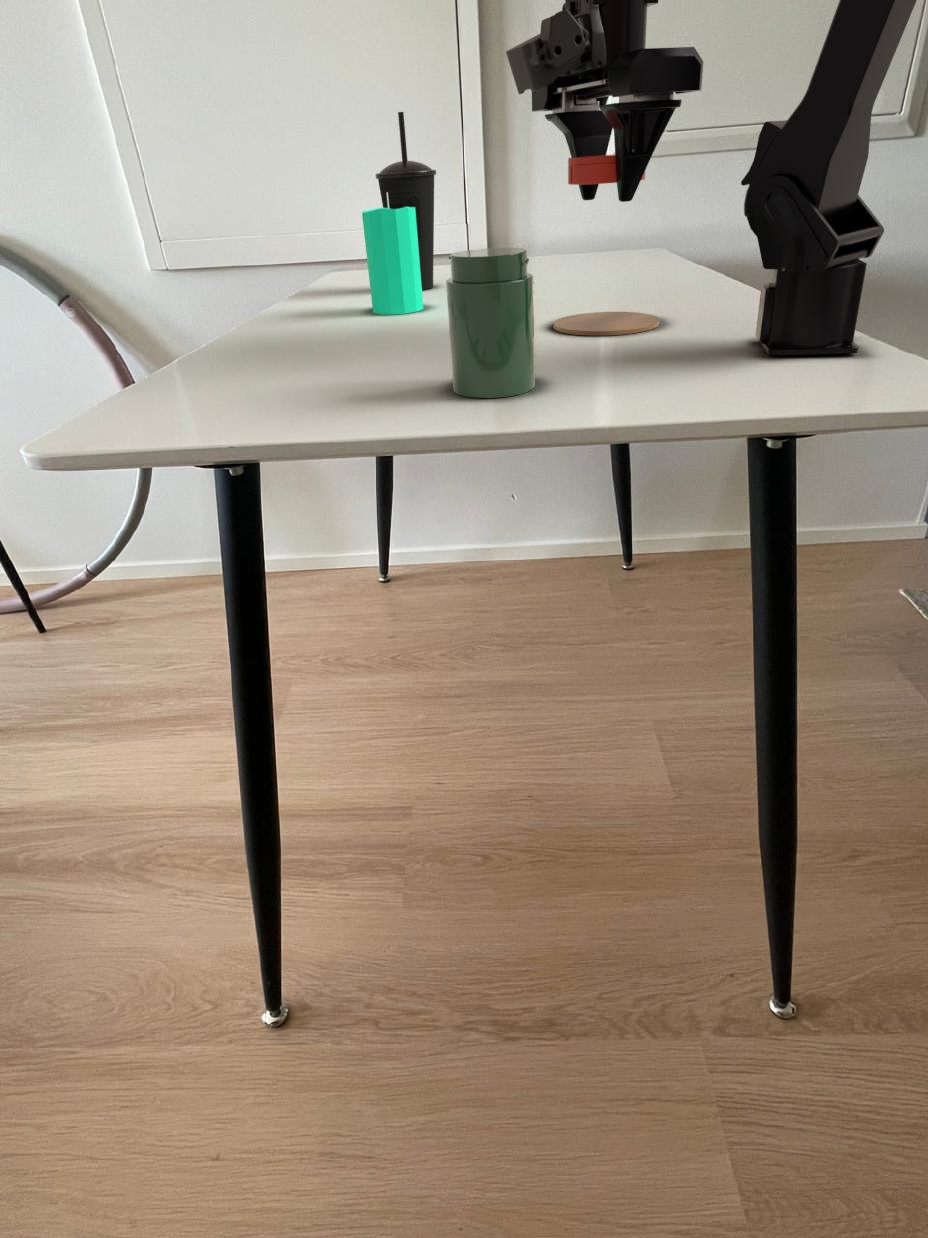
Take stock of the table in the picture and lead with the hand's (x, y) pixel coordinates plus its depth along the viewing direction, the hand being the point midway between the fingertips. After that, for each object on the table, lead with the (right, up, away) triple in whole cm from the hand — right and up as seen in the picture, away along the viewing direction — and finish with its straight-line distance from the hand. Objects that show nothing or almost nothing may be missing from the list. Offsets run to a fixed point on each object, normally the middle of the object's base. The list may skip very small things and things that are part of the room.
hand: (605, 200), depth 70 cm
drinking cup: (-19, +7, +36) cm, 42 cm away
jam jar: (-10, -20, -12) cm, 26 cm away
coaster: (+1, -9, +6) cm, 11 cm away
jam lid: (0, +3, -2) cm, 3 cm away
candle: (-20, -1, +21) cm, 30 cm away
